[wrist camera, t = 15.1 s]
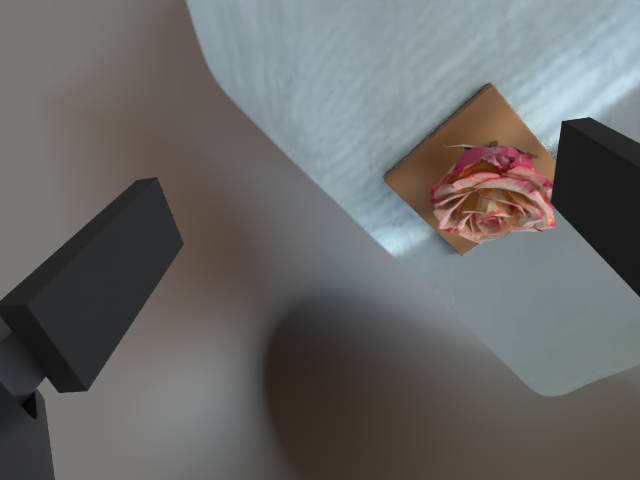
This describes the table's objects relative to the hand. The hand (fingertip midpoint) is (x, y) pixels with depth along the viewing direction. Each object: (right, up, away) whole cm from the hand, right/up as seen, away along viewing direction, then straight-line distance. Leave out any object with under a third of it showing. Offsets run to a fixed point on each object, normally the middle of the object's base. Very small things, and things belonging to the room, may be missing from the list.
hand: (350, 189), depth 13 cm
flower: (+12, +3, +21) cm, 25 cm away
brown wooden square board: (+12, +4, +21) cm, 25 cm away
